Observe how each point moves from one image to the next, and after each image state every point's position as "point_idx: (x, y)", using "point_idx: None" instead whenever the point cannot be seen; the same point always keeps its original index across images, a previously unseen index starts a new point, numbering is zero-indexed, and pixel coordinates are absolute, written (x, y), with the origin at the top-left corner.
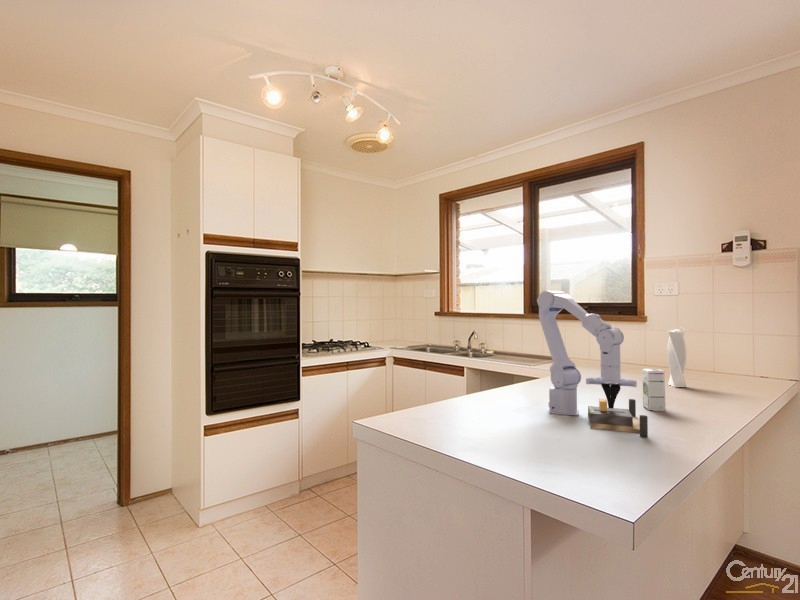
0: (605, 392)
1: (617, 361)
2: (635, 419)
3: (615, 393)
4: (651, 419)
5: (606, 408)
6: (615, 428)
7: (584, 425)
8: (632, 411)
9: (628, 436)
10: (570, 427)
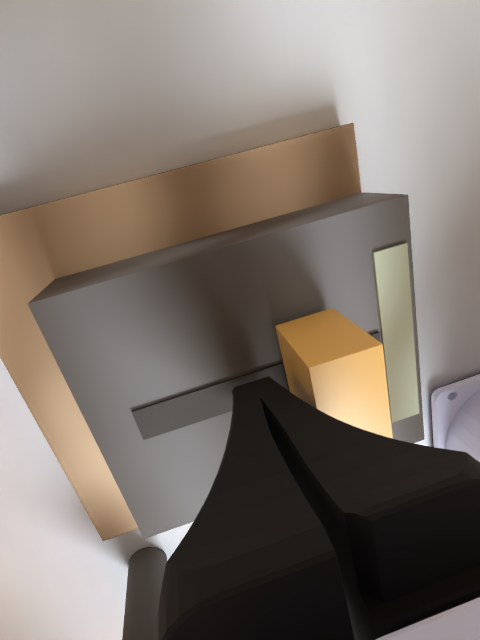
0: (393, 441)
1: None
2: (97, 485)
3: (237, 493)
4: (40, 589)
5: (289, 334)
6: (167, 171)
7: (383, 186)
8: (140, 590)
9: (32, 40)
10: (472, 58)
